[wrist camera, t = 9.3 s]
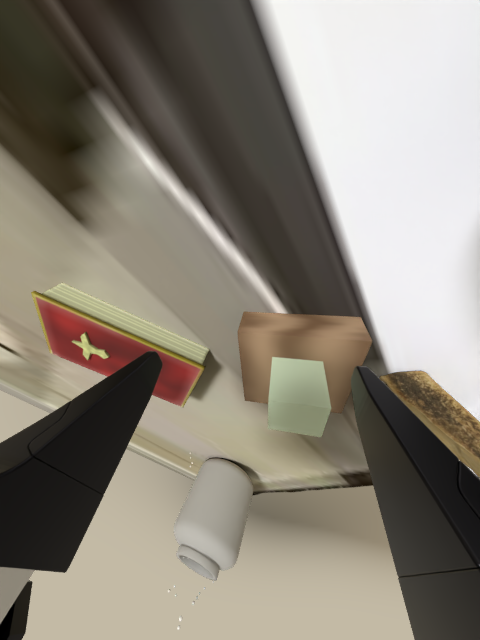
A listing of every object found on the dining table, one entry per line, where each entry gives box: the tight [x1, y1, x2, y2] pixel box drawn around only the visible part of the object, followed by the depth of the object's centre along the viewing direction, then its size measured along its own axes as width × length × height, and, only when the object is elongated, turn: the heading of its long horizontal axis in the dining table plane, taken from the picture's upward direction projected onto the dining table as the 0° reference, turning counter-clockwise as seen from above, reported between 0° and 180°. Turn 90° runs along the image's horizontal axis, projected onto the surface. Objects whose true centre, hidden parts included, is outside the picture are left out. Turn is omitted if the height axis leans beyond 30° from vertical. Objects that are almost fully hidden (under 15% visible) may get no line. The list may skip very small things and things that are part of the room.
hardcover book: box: [31, 283, 209, 407], centre depth 28 cm, size 12×21×4 cm, turn 65°
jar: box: [168, 453, 253, 630], centre depth 44 cm, size 19×15×25 cm
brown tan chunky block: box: [380, 371, 480, 477], centre depth 23 cm, size 11×9×10 cm
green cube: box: [268, 357, 331, 437], centre depth 20 cm, size 5×5×5 cm
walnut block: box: [238, 312, 372, 413], centre depth 24 cm, size 12×12×4 cm
